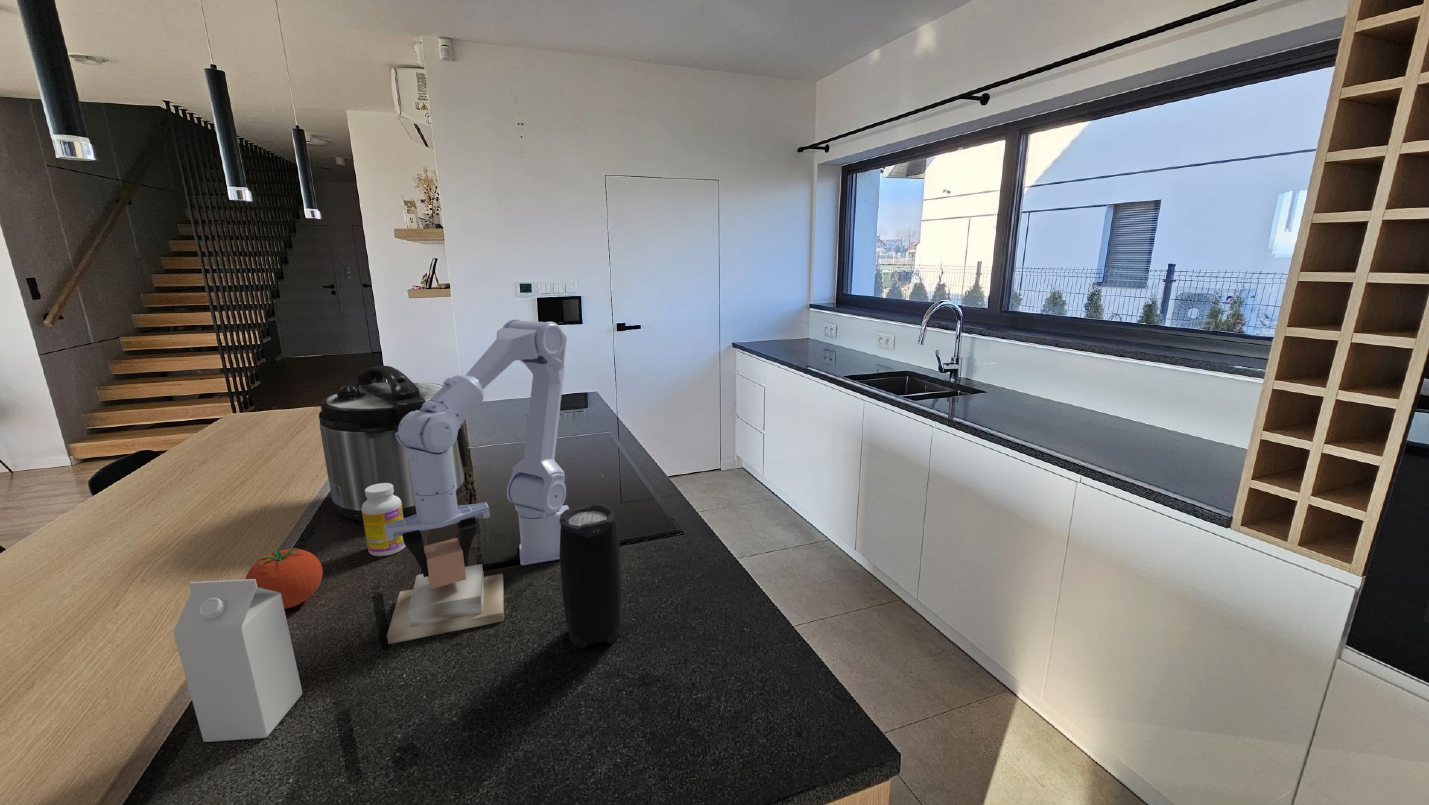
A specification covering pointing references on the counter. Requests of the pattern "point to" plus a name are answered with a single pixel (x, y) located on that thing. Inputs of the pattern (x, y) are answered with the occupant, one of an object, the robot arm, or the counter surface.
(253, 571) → the tomato
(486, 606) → the base
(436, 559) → the cube
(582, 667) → the counter surface
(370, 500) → the supplement bottle
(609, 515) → the portable speaker
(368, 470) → the pressure cooker
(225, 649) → the milk carton
